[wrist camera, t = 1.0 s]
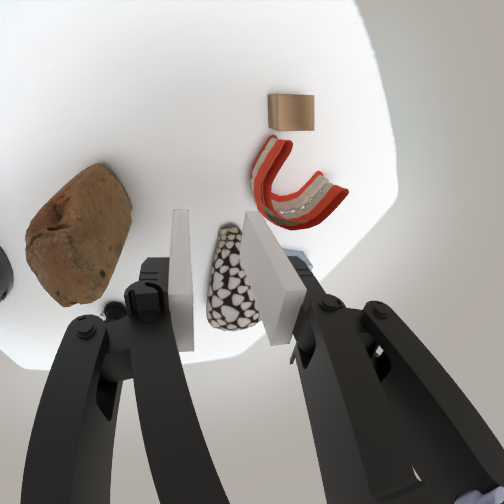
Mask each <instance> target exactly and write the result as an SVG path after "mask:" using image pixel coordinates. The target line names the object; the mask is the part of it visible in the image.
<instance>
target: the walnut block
mask: <svg viewBox="0 0 504 504" xmlns="http://www.w3.org/2000/svg"><path fill="white" fill-rule="evenodd" d="M268 123H269V128H272V129H275V130H278V131H314V95H292V94H274V95H268Z"/></svg>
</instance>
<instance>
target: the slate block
mask: <svg viewBox="0 0 504 504" xmlns="http://www.w3.org/2000/svg"><path fill="white" fill-rule="evenodd" d="M283 251H284V252H285V254H286V256H297V257H299V258H300V259H301V260H303V261H304V262H305V263H306V264H307V266H308V267H309V269H310V270H312V268H313V265H312V264H311V263H310V261H309V260H308V258H307V257H306V256H305V254H304V253H303V251H296V250H288V249H283Z"/></svg>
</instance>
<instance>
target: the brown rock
mask: <svg viewBox="0 0 504 504" xmlns="http://www.w3.org/2000/svg"><path fill="white" fill-rule="evenodd" d="M130 226H131V203H130V200H129V198H128V196H127V194H126V192H125V189H124V187H123V186H122V185H121V183H120V182H119V181H118V180H117V179H116V177H115V176H114V175H113V174H112V172H110V171H109V170H108V169H106V168H104V167H103V166H101V165H98V164H96V165H93V166H91V167H88V168H87V169H85V170H83V171H82V172H80V173H79V174H78V175H76V176H75V177H74V178H73V179H72V180H71V181H69V182H68V183H67V184H66V185H65V186H64V187H63V188H62V189H61V190H60V191H58V192H57V193H56V194H55V195H54V196H53V197H52V198H51V199H50V200H49V201H48V202H47V203H46V204H45V205H44V206H43V207H42V208H41V209H40V210H39V212H38V213H37V214H36V216H35V217H34V218H33V219H32V221H31V223H30V226H29V228H28V229H27V231H26V235H25V241H26V249H25V251H26V260H27V263H28V265H29V266H30V268H31V270H32V271H33V272H34V273H35V275H36V277H37V279H38V281H39V282H40V284H41V285H42V286H43V288H44V289H45V290H46V291H47V292H48V293H49V294H50V296H51V297H52V298H53V299H54V300H56V301H57V302H58V303H59V304H60V305H61V306H63V307H70V306H72V305H74V304H77V303H79V304H88V303H92V302H94V301H95V300H97V299H99V298H101V296H102V294H103V293H104V291H105V290H106V288H107V286H108V284H109V281H110V279H111V277H112V274H113V272H114V270H115V267H116V264H117V262H118V259H119V257H120V254H121V252H122V249H123V246H124V243H125V241H126V238H127V235H128V232H129V229H130Z"/></svg>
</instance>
